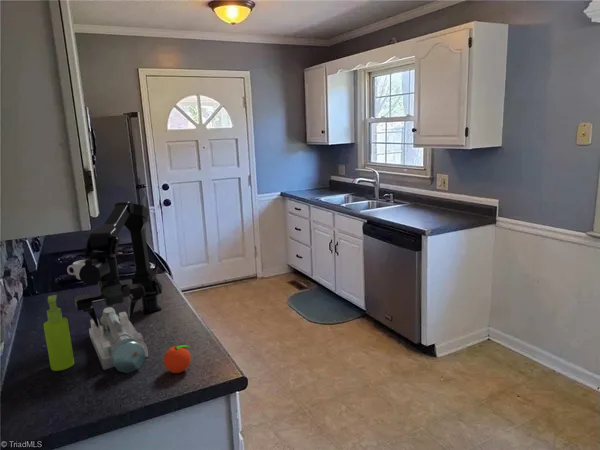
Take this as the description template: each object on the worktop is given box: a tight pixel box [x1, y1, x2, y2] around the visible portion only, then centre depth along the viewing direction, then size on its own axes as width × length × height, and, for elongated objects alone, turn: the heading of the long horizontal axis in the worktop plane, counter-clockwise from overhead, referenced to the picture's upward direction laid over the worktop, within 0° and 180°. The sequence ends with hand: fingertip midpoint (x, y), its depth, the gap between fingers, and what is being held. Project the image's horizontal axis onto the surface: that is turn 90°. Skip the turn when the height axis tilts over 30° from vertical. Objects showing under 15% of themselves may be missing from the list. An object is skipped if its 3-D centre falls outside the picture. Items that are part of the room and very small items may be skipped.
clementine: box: [163, 344, 193, 374], centre depth 115 cm, size 8×7×7 cm
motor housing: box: [88, 311, 149, 374], centre depth 128 cm, size 31×12×8 cm, turn 33°
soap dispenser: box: [43, 294, 75, 372], centre depth 120 cm, size 6×7×20 cm
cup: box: [66, 259, 86, 281], centre depth 200 cm, size 11×8×8 cm
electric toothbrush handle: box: [99, 306, 131, 345], centre depth 130 cm, size 5×7×25 cm
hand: (114, 323), depth 130 cm, fingers open, 9 cm apart
